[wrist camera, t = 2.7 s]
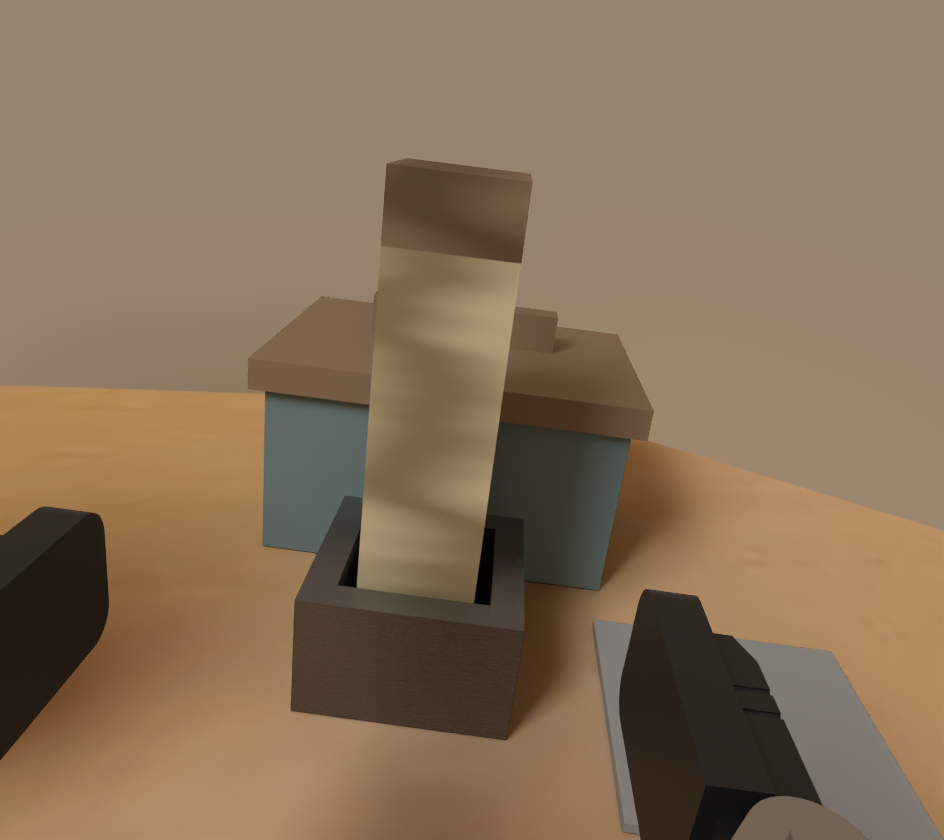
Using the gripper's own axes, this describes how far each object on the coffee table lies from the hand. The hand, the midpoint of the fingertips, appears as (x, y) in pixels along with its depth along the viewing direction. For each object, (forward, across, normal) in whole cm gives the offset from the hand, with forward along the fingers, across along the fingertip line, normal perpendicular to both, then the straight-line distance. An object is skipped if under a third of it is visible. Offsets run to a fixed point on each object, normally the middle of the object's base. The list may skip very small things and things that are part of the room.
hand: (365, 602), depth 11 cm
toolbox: (+22, 0, +10) cm, 25 cm away
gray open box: (+12, 0, +10) cm, 16 cm away
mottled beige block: (+12, 0, +10) cm, 16 cm away
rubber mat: (+10, -11, +10) cm, 18 cm away
